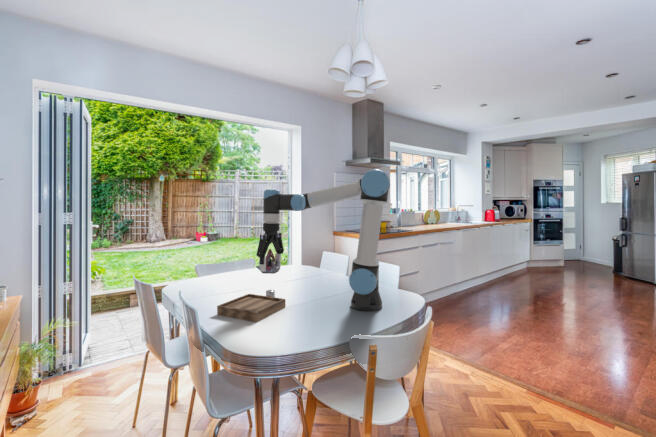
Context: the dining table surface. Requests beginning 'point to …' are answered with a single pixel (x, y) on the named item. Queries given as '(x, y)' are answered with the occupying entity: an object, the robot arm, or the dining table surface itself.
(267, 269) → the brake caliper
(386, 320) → the dining table surface
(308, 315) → the dining table surface
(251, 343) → the dining table surface
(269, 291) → the steel bushing
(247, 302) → the wooden tray
